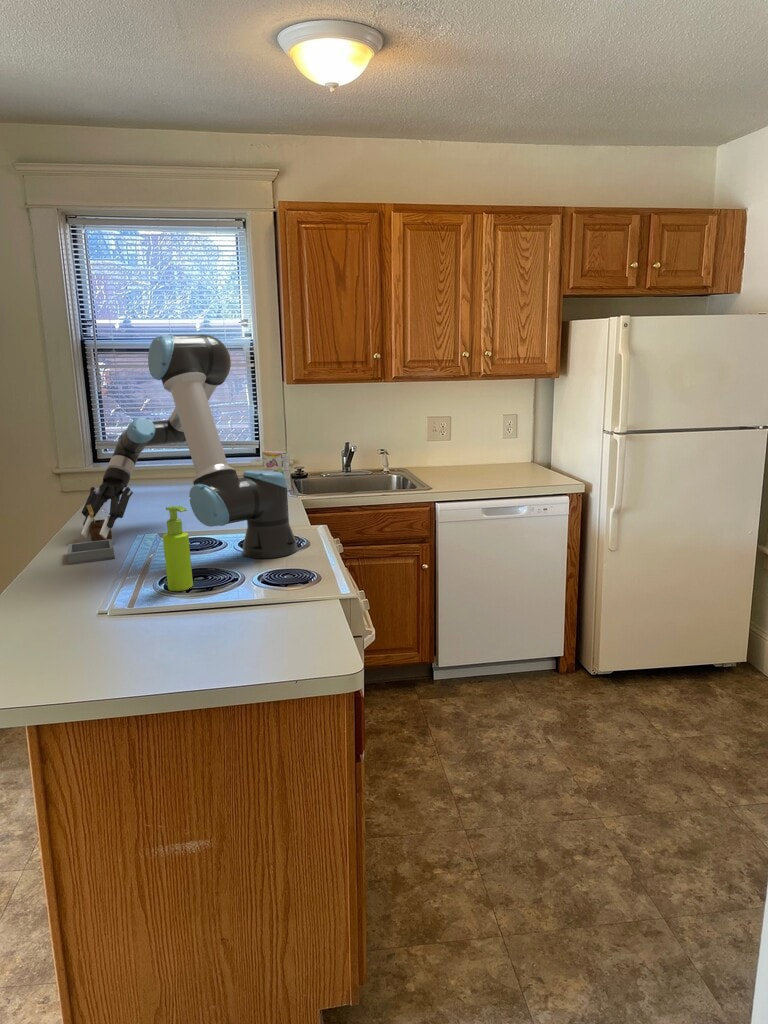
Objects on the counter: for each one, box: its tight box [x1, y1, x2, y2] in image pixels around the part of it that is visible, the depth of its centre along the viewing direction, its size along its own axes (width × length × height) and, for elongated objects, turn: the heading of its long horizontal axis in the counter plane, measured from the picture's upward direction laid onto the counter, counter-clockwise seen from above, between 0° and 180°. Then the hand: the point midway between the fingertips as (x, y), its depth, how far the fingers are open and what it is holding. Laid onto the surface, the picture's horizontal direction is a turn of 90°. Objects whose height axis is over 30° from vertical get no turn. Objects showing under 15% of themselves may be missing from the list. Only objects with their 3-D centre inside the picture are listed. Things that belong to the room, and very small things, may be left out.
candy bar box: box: [261, 450, 292, 492], centre depth 295 cm, size 11×5×16 cm, turn 58°
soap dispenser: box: [162, 505, 194, 592], centre depth 169 cm, size 6×7×20 cm
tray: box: [66, 538, 116, 565], centre depth 202 cm, size 12×12×3 cm
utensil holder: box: [87, 505, 113, 542], centre depth 214 cm, size 6×6×12 cm
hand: (93, 536), depth 211 cm, fingers closed on utensil holder, 5 cm apart
